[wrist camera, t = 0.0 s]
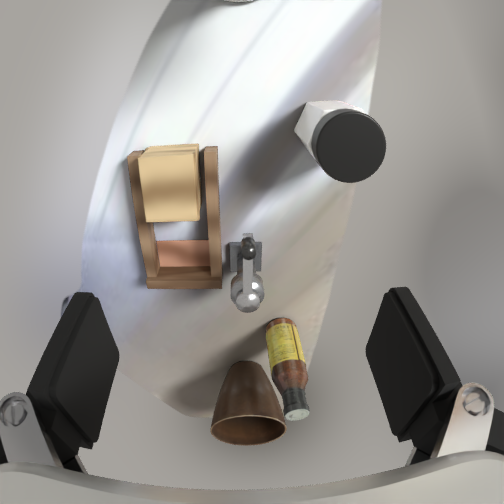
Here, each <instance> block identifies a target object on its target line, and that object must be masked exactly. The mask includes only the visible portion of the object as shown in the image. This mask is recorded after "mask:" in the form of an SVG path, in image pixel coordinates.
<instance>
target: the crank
mask: <svg viewBox="0 0 504 504" xmlns="http://www.w3.org/2000/svg"><path fill="white" fill-rule="evenodd" d="M241 255H242V257H243V289H241V290H239V291H238V292H237V294H236V307H237V308H238V309H239V310H240V311H242V312H247V313H248V312H253V311H255V310H257V309H258V308H259V306H260V298H259V293H258V292H257V291H256V290H255V289H253V259H254V258H255V256H256V249H255V241H254V239H253V233H244V234H243V239H242V241H241Z"/></svg>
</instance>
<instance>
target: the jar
mask: <svg viewBox="0 0 504 504" xmlns="http://www.w3.org/2000/svg"><path fill="white" fill-rule="evenodd" d="M294 132H295V133H296V135H297V136H298V137H299V139H300V140H301V141H302V143H303V144H304V146H305V147H306V148H307V150H308V151H309V153H310V154H311V155H312V157H313V158H314V159H315V160H316V161H317V163H318V164H319V165H320V166H321V168H322V169H323V170H324V172H325V173H326V174H327V175H328V176H330V177H332V178H334V179H335V180H338V181H341V182H346V183H354V182H359V181H362V180H365V179H366V178H368V177H370V176H371V175H372V174H374V173H375V172H376V171H377V170H378V168H379V167H380V165H381V164H382V162H383V159H384V156H385V152H386V140H385V136H384V133H383V131H382V129H381V127H380V125H379V124H378V123H377V122H376V121H375V120H374V119H373V118H372V117H370V116H368V115H367V114H365V113H364V111H363V109H361V108H358V107H356V106H353V105H350V104H347V103H345V102H342V101H339V100H332V101H314V102H307V103H306V105H305V107H304V110H303V112H302V114H301V116H300V118H299V120H298V122H297V124H296V126H295V129H294Z"/></svg>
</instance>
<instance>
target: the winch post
mask: <svg viewBox="0 0 504 504" xmlns="http://www.w3.org/2000/svg"><path fill="white" fill-rule="evenodd" d="M255 249H256V256H255V258H254V259H253V289H255V290H256V291H257V292H258V293H259V298H260V303H261V302H262V301H263V299H264V287H263V281H262V279H261V277H260V276H259V275H257V274H256V271H261V256H262V243H261V242H255ZM230 270H231V272H237V275H236V276H235V277H234V278H233V279H232V281H231V299H232V301H233V302H234V304H236V294H237V292H238V291H239V290H241V289H243V257H242V255H241V242H230Z"/></svg>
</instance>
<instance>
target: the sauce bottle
mask: <svg viewBox="0 0 504 504" xmlns="http://www.w3.org/2000/svg"><path fill="white" fill-rule="evenodd" d="M266 341H267V348H268V356H269V363H270V369H271V376H272V380H273V382H274V384H275V385H276V387H277V389H278V391H279V392H280V394H281V396H282V399H283V404H284V410H283V412H284V416H285V418H286V419H288V420H292V421H293V420H300V419H303V418H305V417H307V416H308V415H309V406H308V405H307V403H306V398H305V392H304V390H305V386H306V384H307V381H308V375H307V371H306V364H305V359H304V355H303V351H302V347H301V343H300V338H299V334H298V330H297V328H296V325H295V323H294V322H293V321H291V320H290V319H287V318H278V319H275V320H273V321H271V322H270V323H269V324H268V325H267V327H266Z"/></svg>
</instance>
